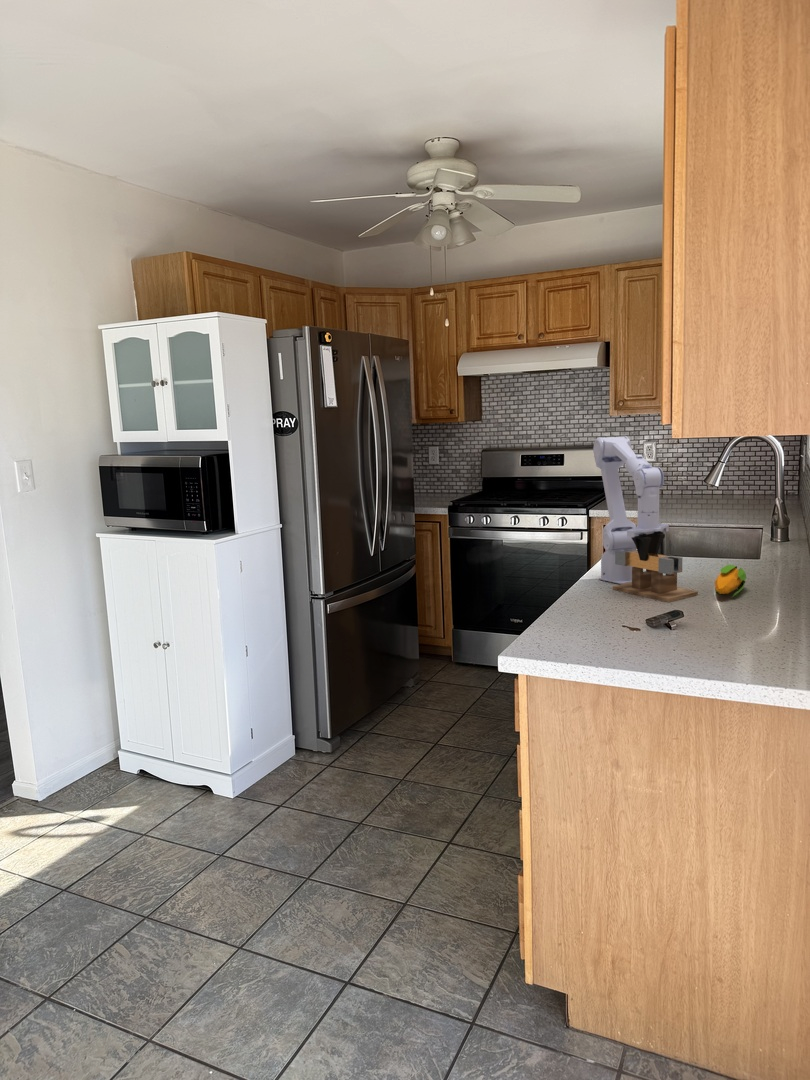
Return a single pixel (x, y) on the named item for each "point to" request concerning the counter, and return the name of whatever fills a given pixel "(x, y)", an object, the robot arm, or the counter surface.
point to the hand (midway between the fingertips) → (647, 559)
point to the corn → (730, 580)
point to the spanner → (649, 561)
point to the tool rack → (655, 586)
